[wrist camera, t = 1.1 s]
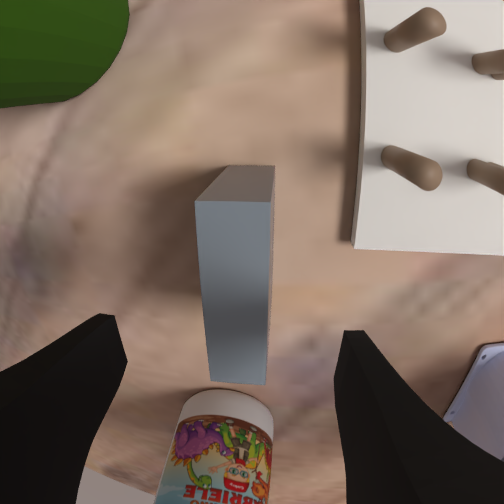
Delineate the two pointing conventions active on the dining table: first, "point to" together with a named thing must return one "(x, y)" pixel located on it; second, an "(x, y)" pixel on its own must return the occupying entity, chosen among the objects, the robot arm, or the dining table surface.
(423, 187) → the peg rack
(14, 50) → the wine bottle
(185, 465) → the milk bottle
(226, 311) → the slate grey rectangular block
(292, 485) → the dining table surface
